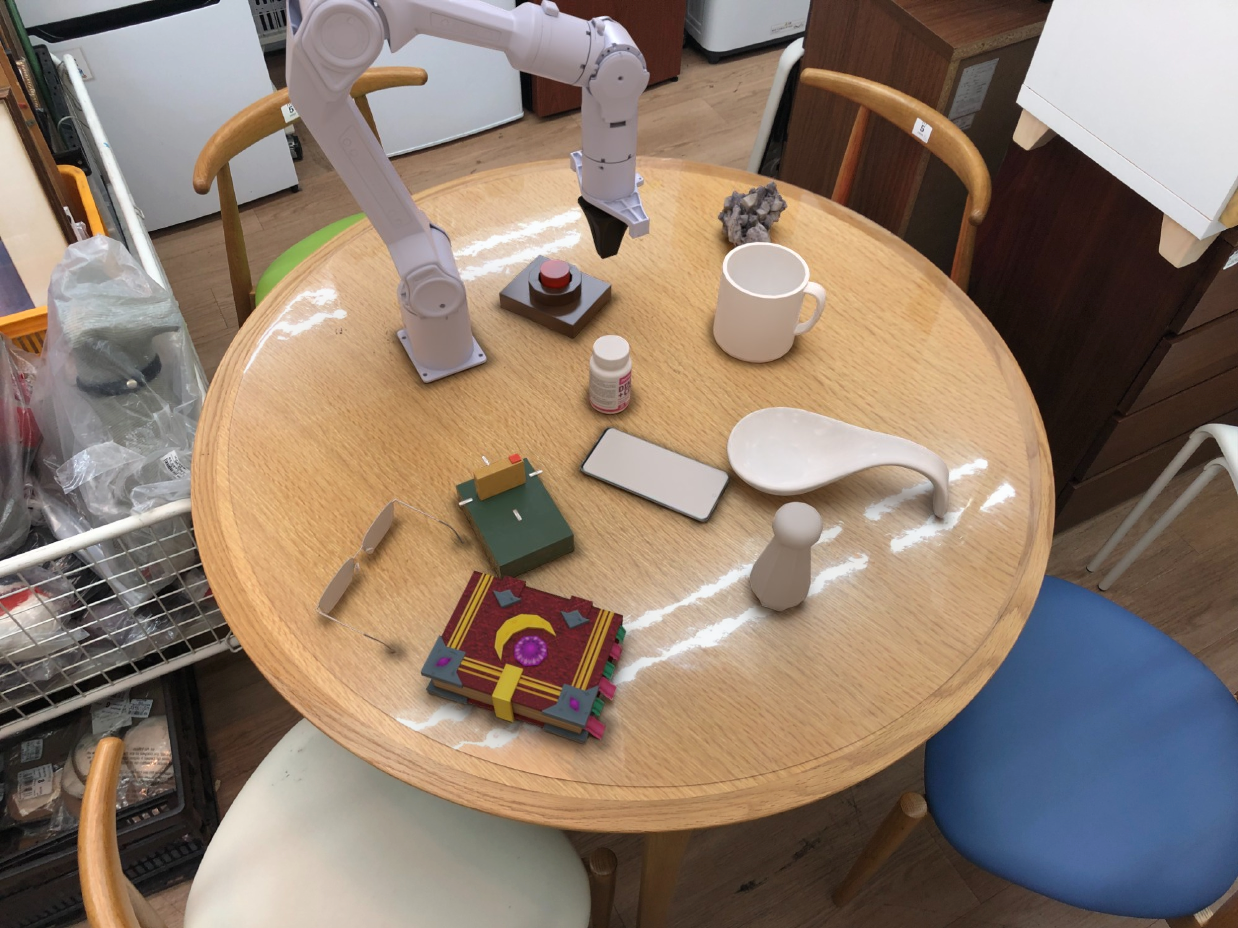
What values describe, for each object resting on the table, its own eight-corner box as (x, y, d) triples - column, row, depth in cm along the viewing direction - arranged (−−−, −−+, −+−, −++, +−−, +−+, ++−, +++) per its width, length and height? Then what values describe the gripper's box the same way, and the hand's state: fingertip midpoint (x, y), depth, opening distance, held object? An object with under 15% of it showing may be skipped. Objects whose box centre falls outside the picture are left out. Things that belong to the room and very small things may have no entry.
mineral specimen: (769, 262, 113) (768, 180, 110) (702, 263, 117) (700, 184, 115) (800, 254, 123) (800, 179, 120) (737, 256, 128) (736, 183, 125)
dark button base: (500, 306, 112) (497, 281, 109) (540, 267, 117) (538, 243, 114) (573, 339, 109) (572, 314, 106) (611, 297, 114) (612, 273, 111)
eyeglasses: (397, 514, 92) (393, 492, 89) (466, 543, 91) (465, 522, 87) (319, 625, 84) (311, 605, 81) (393, 658, 83) (389, 640, 79)
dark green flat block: (445, 490, 94) (441, 472, 92) (524, 459, 97) (523, 440, 94) (496, 585, 87) (493, 568, 85) (579, 548, 90) (579, 530, 87)
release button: (535, 282, 110) (534, 271, 108) (551, 267, 112) (550, 255, 110) (559, 293, 109) (558, 282, 107) (575, 277, 111) (575, 265, 109)
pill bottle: (625, 418, 101) (628, 366, 94) (585, 411, 101) (584, 358, 95) (633, 388, 104) (636, 335, 97) (594, 382, 104) (594, 329, 98)
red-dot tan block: (480, 501, 90) (477, 477, 87) (476, 492, 90) (472, 469, 87) (526, 482, 91) (523, 459, 88) (521, 474, 92) (518, 451, 89)
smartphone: (607, 425, 99) (731, 474, 95) (607, 428, 100) (731, 477, 96) (578, 468, 95) (706, 521, 91) (578, 471, 96) (705, 524, 92)
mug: (700, 348, 108) (709, 282, 100) (728, 299, 114) (739, 233, 106) (799, 380, 105) (817, 315, 97) (823, 328, 111) (841, 263, 103)
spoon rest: (715, 500, 94) (723, 457, 88) (732, 419, 101) (740, 375, 96) (942, 546, 91) (966, 506, 85) (943, 460, 98) (965, 417, 93)
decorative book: (478, 590, 87) (473, 563, 83) (636, 638, 84) (638, 612, 80) (427, 694, 80) (418, 670, 76) (597, 750, 77) (597, 728, 73)
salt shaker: (742, 568, 89) (761, 491, 79) (798, 565, 89) (824, 488, 79) (752, 621, 85) (774, 546, 75) (811, 617, 86) (840, 542, 75)
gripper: (678, 174, 90) (669, 279, 100) (609, 105, 97) (607, 210, 108) (616, 192, 87) (614, 298, 98) (551, 121, 95) (555, 226, 106)
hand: (607, 253), depth 103 cm, fingers closed
